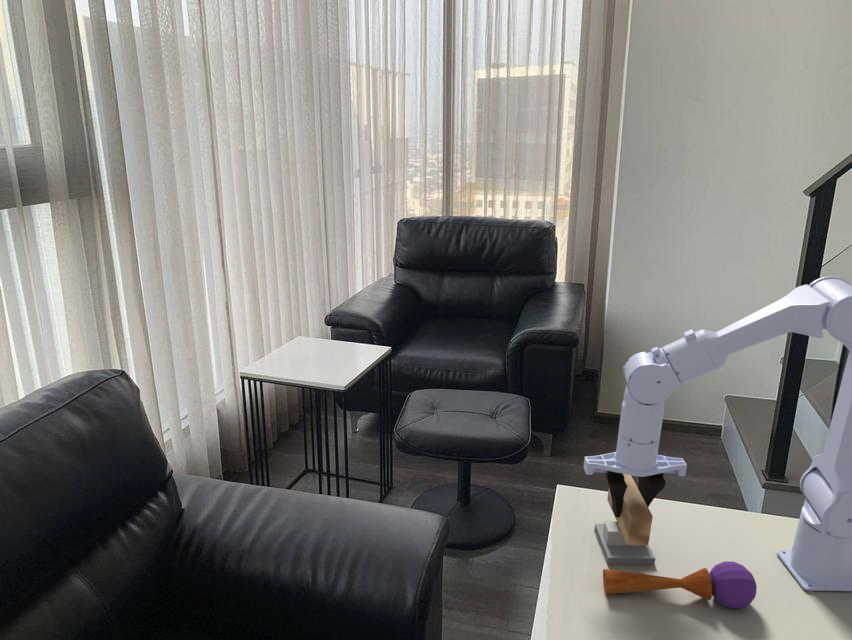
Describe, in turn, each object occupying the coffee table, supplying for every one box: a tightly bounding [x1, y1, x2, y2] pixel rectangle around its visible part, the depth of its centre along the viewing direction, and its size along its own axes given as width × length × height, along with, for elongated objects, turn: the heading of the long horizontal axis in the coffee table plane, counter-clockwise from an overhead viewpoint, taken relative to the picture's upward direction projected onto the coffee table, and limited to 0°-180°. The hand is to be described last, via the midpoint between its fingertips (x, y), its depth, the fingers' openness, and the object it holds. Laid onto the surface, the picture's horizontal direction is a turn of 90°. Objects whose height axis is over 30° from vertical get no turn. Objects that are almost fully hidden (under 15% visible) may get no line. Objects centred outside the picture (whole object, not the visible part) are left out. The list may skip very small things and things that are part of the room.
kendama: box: [602, 561, 757, 609], centre depth 88 cm, size 6×6×20 cm
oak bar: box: [606, 474, 654, 545], centre depth 96 cm, size 3×11×5 cm, turn 0°
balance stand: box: [593, 521, 656, 566], centre depth 98 cm, size 7×8×4 cm
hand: (627, 513), depth 96 cm, fingers closed on oak bar, 3 cm apart
